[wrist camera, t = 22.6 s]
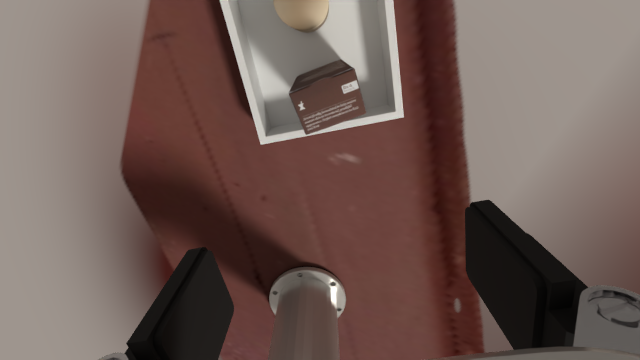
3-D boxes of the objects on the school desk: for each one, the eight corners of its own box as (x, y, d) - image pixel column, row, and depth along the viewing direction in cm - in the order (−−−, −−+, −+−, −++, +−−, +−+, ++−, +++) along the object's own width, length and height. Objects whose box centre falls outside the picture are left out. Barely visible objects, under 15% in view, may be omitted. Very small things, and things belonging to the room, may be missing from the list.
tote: (394, 108, 39) (403, 117, 34) (267, 133, 40) (260, 144, 36) (377, -58, 32) (386, -75, 28) (225, -21, 34) (210, -32, 29)
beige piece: (331, -17, 33) (331, -32, 27) (326, 35, 35) (325, 32, 29) (285, -22, 33) (274, -39, 27) (282, 30, 35) (271, 25, 29)
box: (309, 111, 39) (304, 137, 28) (295, 76, 37) (284, 88, 26) (355, 94, 38) (368, 114, 27) (343, 57, 36) (353, 62, 25)
